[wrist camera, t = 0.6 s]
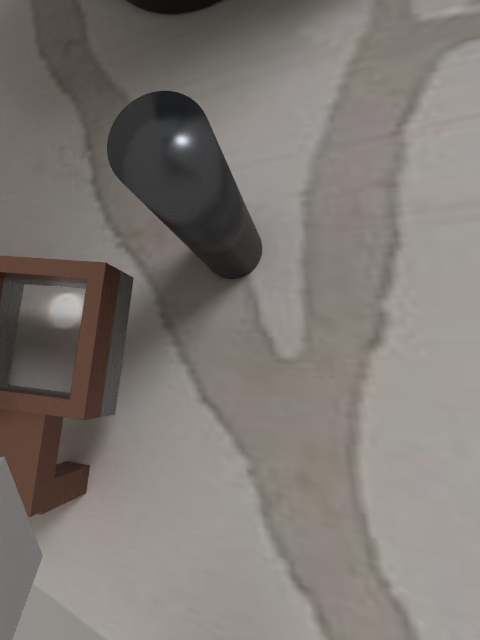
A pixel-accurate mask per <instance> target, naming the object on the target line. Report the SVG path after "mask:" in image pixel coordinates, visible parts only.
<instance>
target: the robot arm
mask: <svg viewBox="0 0 480 640" xmlns="http://www.w3.org/2000/svg"><path fill="white" fill-rule="evenodd" d="M127 1H129V2H131V3H132V4H134V5H136V6H138V7H140V8H143V9H146V10H149V11H153V12H159V13H183V12H189V11H194V10H197V9H201V8H204V7H207V6H209V5H211V4H214V3H216V2H218V1H220V0H127ZM42 556H43V555H42V552H41V550H40V547H39V544H38V542H37V539H36V537H35V534H34V532H33V529H32V526H31V524H30V521H29V519H28V516H27V513H26V511H25V508H24V506H23V503H22V501H21V498H20V495H19V493H18V490H17V488H16V485H15V482H14V480H13V477H12V475H11V472H10V470H9V467H8V464H7V462H6V459H5V457H0V640H12V639H13V636H14V633H15V630H16V628H17V625H18V622H19V619H20V617H21V614H22V611H23V608H24V606H25V603H26V600H27V597H28V595H29V592H30V589H31V586H32V584H33V581H34V578H35V575H36V573H37V570H38V567H39V565H40V562H41V559H42Z"/></svg>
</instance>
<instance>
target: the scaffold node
mask: <svg viewBox="0 0 480 640" xmlns="http://www.w3.org/2000/svg"><path fill="white" fill-rule="evenodd" d="M24 284H30V285H43V286H56V287H68V288H81V289H86V293H85V300H84V307H83V313H82V320H81V327H80V334H79V341H78V348H77V354H76V361H75V368H74V375H73V382H72V389H71V393H67V392H59V391H51V390H43V389H35V388H27V387H19V386H11V385H8V381H9V374H10V368H11V362H12V356H13V350H14V344H15V337H16V331H17V325H18V319H19V313H20V306H21V300H22V294H23V288H24ZM132 286H133V277H131V276H130V275H128V274H126V273H124V272H122V271H120V270H118V269H117V268H115V267H113V266H111V265H109V264H107V263H103V262H87V261H72V260H57V259H42V258H27V257H12V256H0V457H5V459H6V462H7V464H8V467H9V470H10V472H11V475H12V477H13V480H14V482H15V485H16V488H17V490H18V493H19V495H20V498H21V501H22V503H23V506H24V508H25V511H26V513H27V516H28V517H31V516H33V515H35V514H41V515H42V514H44V513H46V512H48V511H50V510H52V509H54V508H56V507H58V506H60V505H63V504H65V503H67V502H69V501H71V500H73V499H75V498H77V497H79V496H81V495H83V494H85V493H86V490H87V483H88V476H89V469H90V465H84V464H77V463H71V462H63V463H60V464H57V465H56V463H57V456H58V450H59V443H60V436H61V429H62V422H63V417H67V418H74V419H81V420H85V419H91V418H97V417H103V416H109V415H115V412H116V405H117V397H118V390H119V382H120V375H121V367H122V360H123V353H124V345H125V338H126V330H127V323H128V316H129V308H130V301H131V293H132Z"/></svg>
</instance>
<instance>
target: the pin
mask: <svg viewBox="0 0 480 640" xmlns="http://www.w3.org/2000/svg"><path fill="white" fill-rule="evenodd" d="M107 153H108V159H109V163H110V166H111V168H112V170H113V172H114V173H115V175H116V176H117V177H118V178H119V179H120V181H121V182H122V183H123V184H124V185H125V186H126V187H127V188H129V189H130V190H131V191H132V192H133V193H134V194H135V195H136V196H137V197H138V198H139V199H140V200H141V201H142V202H143V203H144V204H145V205H146V206H147V207H148V208H149V209H150V210H151V211H152V212H153V213H154V214H155V215H156V216H157V217H158V218H159V219H160V220H161V221H162V222H163V223H164V224H165V225H166V226H167V227H168V228H169V229H170V230H171V231H172V232H173V233H174V234H175V235H176V236H177V237H178V238H179V239H180V240H181V241H182V242H183V243H184V244H185V245H186V246H187V247H188V248H189V249H190V250H191V251H193V252H194V253H195V254H196V255H197V256H198V257H199V258H200V259H201V260H202V261H203V262H204V263H205V264H206V265H207V266H208V267H209V268H210V269H211V270H212V271H213V272H214V273H215V274H217V275H218V276H221V277H223V278H228V279H236V278H240V277H243V276H245V275H247V274H249V273H250V272H251V271H252V270H254V268H255V267H256V266H257V264H258V263H259V261H260V258H261V255H262V243H261V239H260V237H259V235H258V232H257V230H256V228H255V225H254V223H253V221H252V219H251V216H250V214H249V212H248V210H247V207H246V205H245V203H244V201H243V198H242V196H241V194H240V192H239V189H238V187H237V185H236V183H235V180H234V178H233V176H232V174H231V171H230V169H229V167H228V164H227V162H226V160H225V158H224V155H223V153H222V151H221V149H220V146H219V144H218V142H217V140H216V137H215V135H214V133H213V131H212V128H211V126H210V124H209V122H208V119H207V117H206V115H205V113H204V112H203V110H202V109H201V107H200V106H199V105H198V104H197V103H196V102H195V101H194V100H192V99H191V98H189V97H187V96H185V95H183V94H181V93H178V92H172V91H157V92H152V93H149V94H146V95H143V96H141V97H139V98H137V99H136V100H134V101H132V102H131V103H130V104H129V105H127V106H126V107H125V108H124V109H123V110H122V111H121V113H120V114H119V115H118V117H117V118H116V120H115V121H114V123H113V125H112V127H111V130H110V133H109V137H108V144H107Z"/></svg>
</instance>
